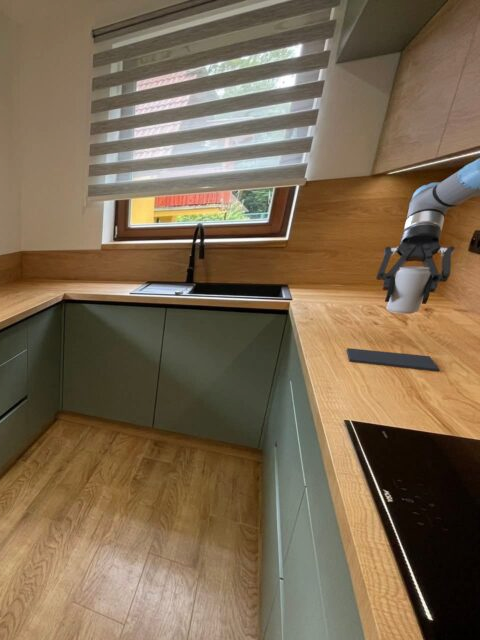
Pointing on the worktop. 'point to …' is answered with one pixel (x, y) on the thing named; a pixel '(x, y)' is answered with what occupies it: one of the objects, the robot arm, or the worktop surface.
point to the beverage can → (408, 289)
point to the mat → (392, 359)
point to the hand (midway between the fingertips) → (406, 299)
